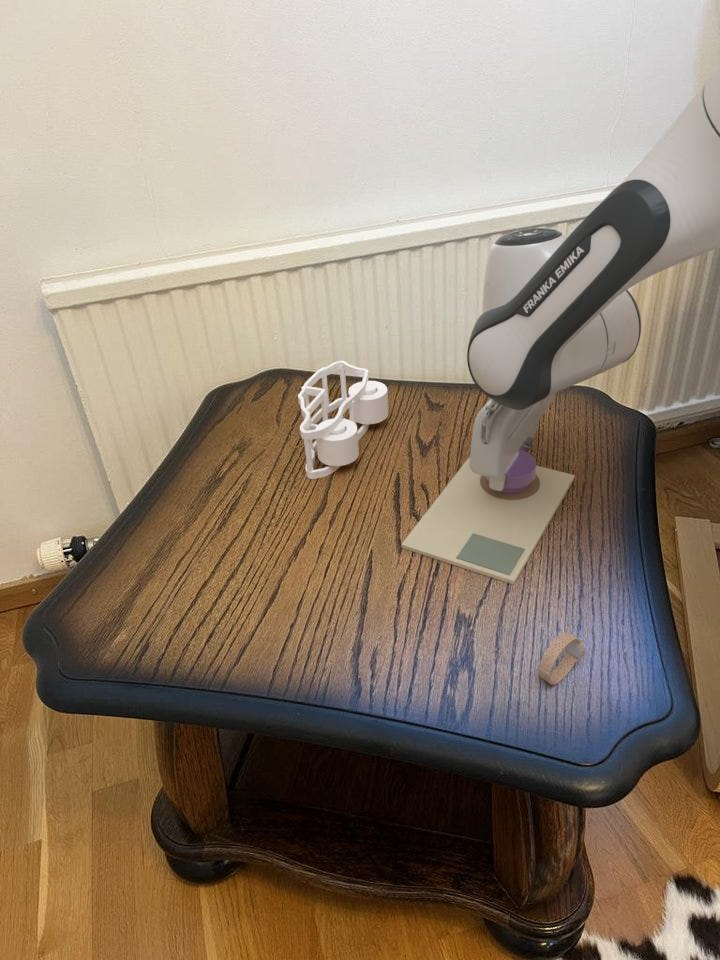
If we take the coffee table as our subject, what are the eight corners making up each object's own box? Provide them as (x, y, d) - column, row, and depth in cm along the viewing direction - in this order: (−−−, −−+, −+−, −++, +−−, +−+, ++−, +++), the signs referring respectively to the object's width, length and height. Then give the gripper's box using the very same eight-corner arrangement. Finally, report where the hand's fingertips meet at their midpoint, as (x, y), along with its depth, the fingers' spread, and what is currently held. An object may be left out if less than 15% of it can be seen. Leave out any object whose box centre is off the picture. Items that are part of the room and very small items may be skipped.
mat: (574, 478, 99) (575, 474, 98) (514, 585, 83) (514, 580, 83) (474, 453, 105) (474, 448, 104) (401, 548, 90) (401, 543, 89)
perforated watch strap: (582, 669, 74) (588, 634, 71) (552, 698, 71) (557, 662, 68) (559, 654, 75) (564, 619, 72) (529, 682, 73) (533, 646, 70)
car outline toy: (345, 486, 100) (341, 439, 96) (271, 470, 104) (264, 425, 100) (398, 411, 115) (397, 368, 110) (332, 400, 119) (328, 358, 114)
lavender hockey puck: (541, 474, 98) (543, 455, 97) (524, 501, 94) (526, 482, 92) (495, 462, 101) (496, 443, 99) (476, 488, 97) (477, 469, 95)
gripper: (512, 418, 80) (505, 520, 88) (571, 339, 94) (560, 433, 102) (456, 405, 82) (455, 505, 91) (522, 331, 97) (516, 423, 105)
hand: (511, 467), depth 96 cm, fingers open, 8 cm apart
